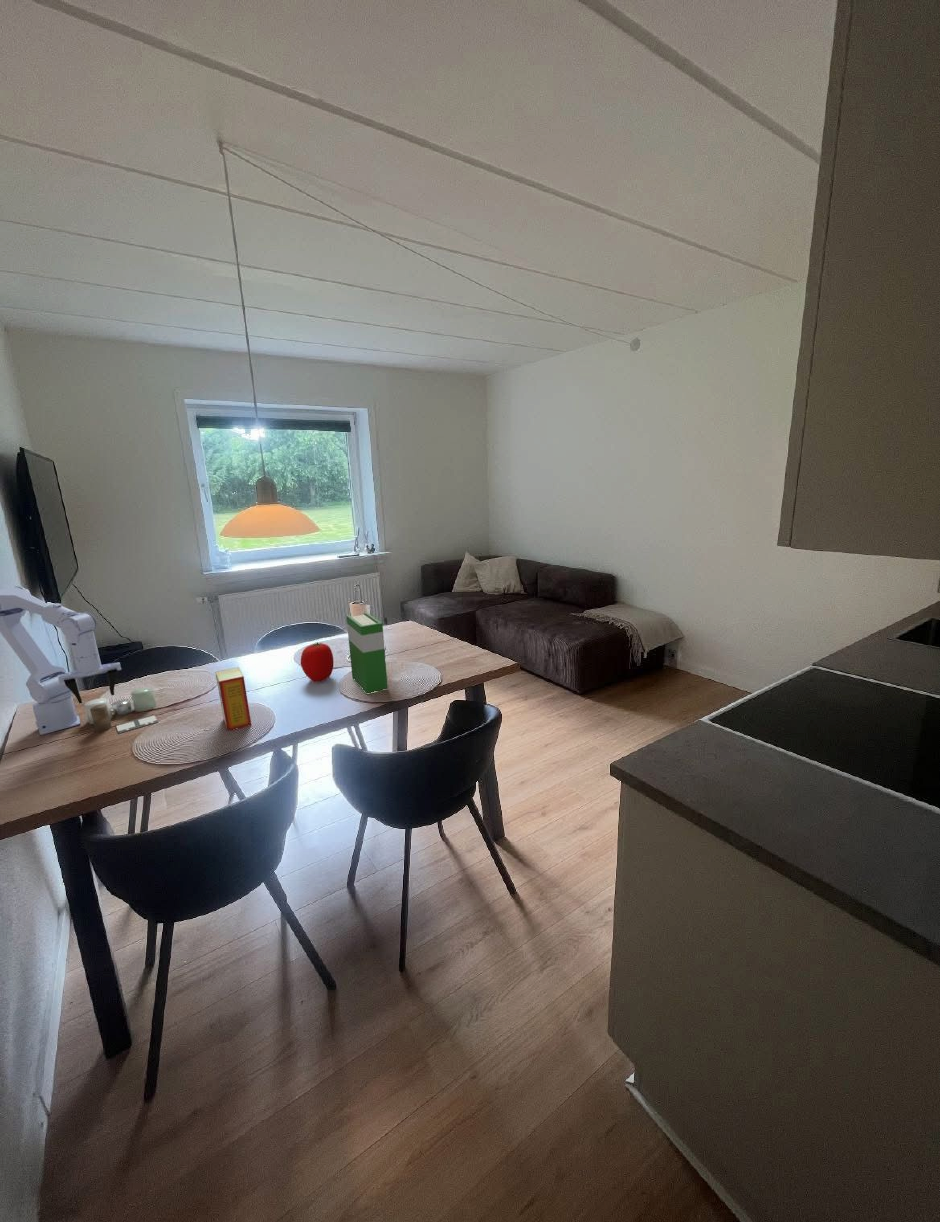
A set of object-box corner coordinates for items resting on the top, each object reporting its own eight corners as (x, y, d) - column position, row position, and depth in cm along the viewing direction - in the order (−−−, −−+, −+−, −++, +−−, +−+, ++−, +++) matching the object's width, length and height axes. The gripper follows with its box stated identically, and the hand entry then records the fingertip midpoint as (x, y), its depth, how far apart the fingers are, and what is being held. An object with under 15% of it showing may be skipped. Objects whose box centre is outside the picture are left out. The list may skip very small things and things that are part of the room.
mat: (118, 733, 143) (118, 732, 143) (115, 725, 148) (115, 724, 148) (158, 722, 150) (157, 721, 150) (153, 714, 155) (153, 714, 155)
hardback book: (352, 677, 180) (346, 615, 174) (371, 673, 183) (366, 612, 177) (367, 694, 165) (360, 626, 159) (387, 689, 168) (382, 623, 162)
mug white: (89, 726, 149) (85, 708, 147) (87, 718, 154) (83, 700, 153) (113, 719, 152) (109, 702, 151) (110, 712, 158) (106, 695, 156)
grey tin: (115, 717, 154) (112, 707, 153) (113, 712, 158) (111, 702, 157) (133, 712, 157) (131, 702, 156) (131, 708, 161) (128, 698, 160)
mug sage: (136, 713, 156) (132, 696, 155) (132, 706, 162) (128, 689, 160) (157, 707, 160) (154, 690, 159) (153, 700, 166) (150, 684, 164)
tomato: (329, 685, 173) (325, 648, 170) (298, 686, 173) (293, 648, 170) (339, 672, 185) (336, 637, 182) (310, 673, 186) (305, 637, 182)
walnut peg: (96, 733, 144) (90, 711, 142) (94, 728, 147) (89, 707, 145) (112, 728, 147) (107, 707, 145) (110, 724, 150) (105, 703, 148)
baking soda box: (223, 719, 150) (215, 670, 146) (246, 713, 154) (238, 665, 150) (227, 731, 143) (218, 680, 139) (251, 725, 146) (243, 675, 142)
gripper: (54, 664, 133) (66, 710, 137) (118, 652, 143) (127, 694, 146) (53, 658, 139) (64, 702, 142) (115, 646, 148) (124, 688, 151)
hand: (96, 698), depth 144 cm, fingers open, 7 cm apart
